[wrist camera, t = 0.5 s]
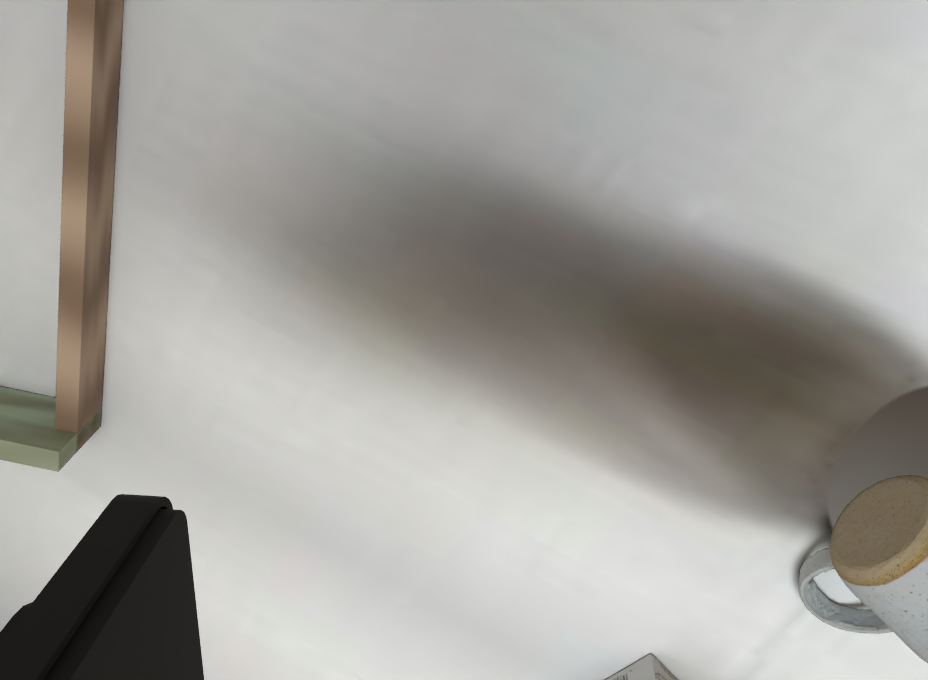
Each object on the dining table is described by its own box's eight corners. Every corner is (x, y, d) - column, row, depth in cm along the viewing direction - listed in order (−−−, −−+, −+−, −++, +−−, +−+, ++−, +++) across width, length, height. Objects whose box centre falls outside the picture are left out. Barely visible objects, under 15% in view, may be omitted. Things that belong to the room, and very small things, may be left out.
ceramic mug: (906, 441, 47) (972, 525, 40) (1002, 527, 49) (1081, 621, 42) (758, 558, 51) (794, 654, 44) (852, 634, 53) (902, 738, 46)
